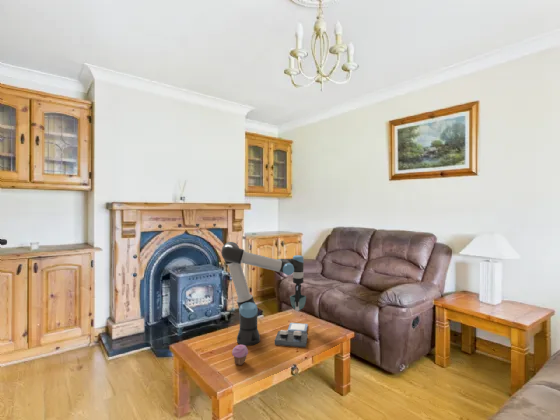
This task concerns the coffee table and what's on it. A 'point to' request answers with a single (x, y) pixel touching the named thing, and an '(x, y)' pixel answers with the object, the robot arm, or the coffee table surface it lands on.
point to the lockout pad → (298, 327)
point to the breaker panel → (291, 339)
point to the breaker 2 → (298, 333)
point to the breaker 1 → (284, 332)
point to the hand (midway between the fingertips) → (298, 307)
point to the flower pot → (301, 301)
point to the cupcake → (240, 354)
